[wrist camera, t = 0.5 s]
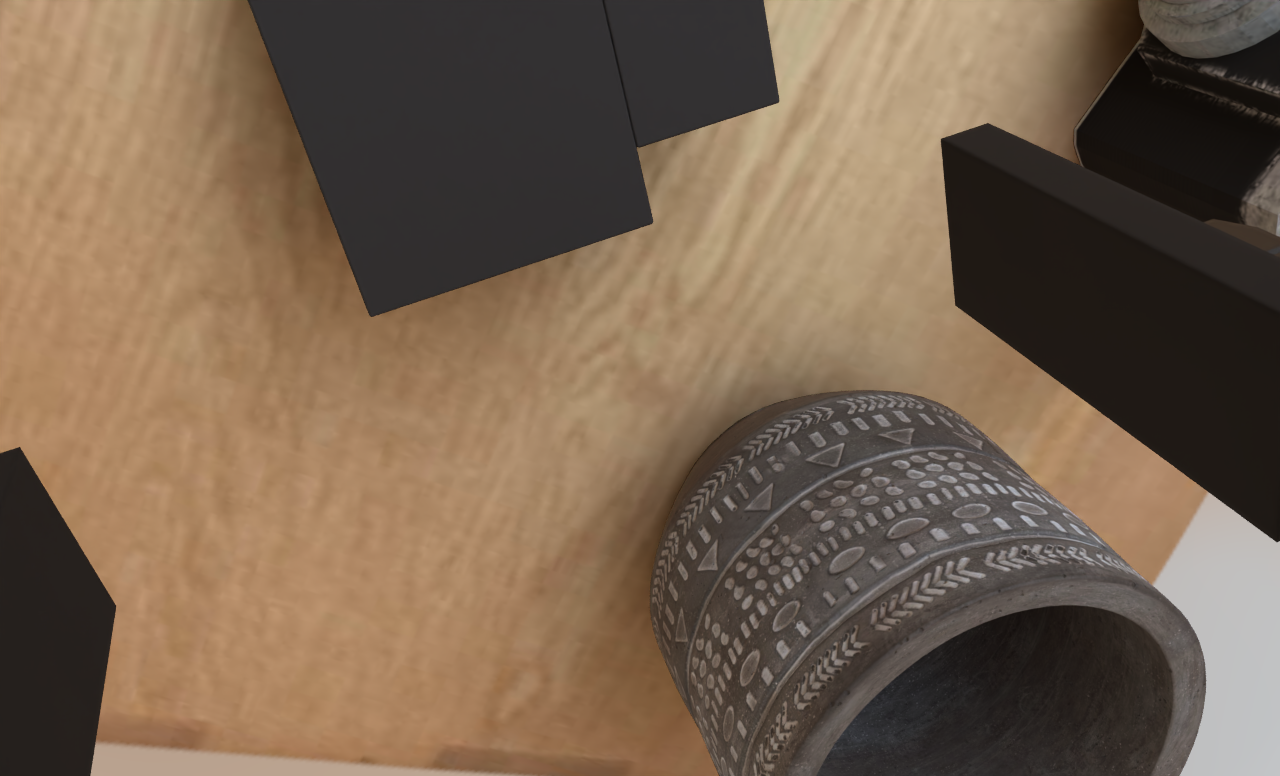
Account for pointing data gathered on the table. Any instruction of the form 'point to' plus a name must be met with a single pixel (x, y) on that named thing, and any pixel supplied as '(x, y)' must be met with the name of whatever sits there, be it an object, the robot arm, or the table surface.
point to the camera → (1195, 112)
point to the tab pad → (499, 121)
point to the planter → (909, 607)
